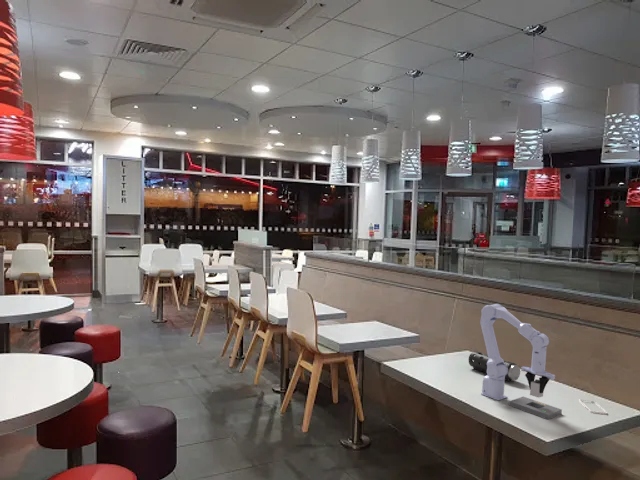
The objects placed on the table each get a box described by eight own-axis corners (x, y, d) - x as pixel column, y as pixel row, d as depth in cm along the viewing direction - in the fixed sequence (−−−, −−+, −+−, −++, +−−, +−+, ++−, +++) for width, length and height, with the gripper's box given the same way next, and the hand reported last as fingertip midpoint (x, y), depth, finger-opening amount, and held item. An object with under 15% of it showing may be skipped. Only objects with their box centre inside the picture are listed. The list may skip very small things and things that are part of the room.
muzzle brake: (478, 367, 278) (480, 349, 278) (520, 382, 254) (522, 363, 254) (467, 369, 273) (468, 351, 273) (508, 384, 249) (510, 365, 249)
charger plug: (529, 394, 215) (531, 379, 215) (534, 393, 218) (535, 378, 218) (538, 397, 212) (539, 382, 212) (543, 396, 215) (544, 380, 215)
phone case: (607, 415, 214) (594, 403, 229) (608, 412, 214) (594, 401, 229) (590, 413, 215) (578, 401, 230) (590, 410, 215) (578, 399, 230)
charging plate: (509, 405, 218) (509, 400, 218) (522, 400, 226) (523, 396, 226) (548, 419, 204) (548, 414, 204) (561, 413, 212) (561, 409, 212)
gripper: (518, 358, 218) (516, 387, 218) (550, 366, 206) (548, 397, 207) (526, 356, 222) (524, 385, 222) (558, 364, 211) (555, 394, 211)
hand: (536, 391), depth 215 cm, fingers closed on charger plug, 4 cm apart
